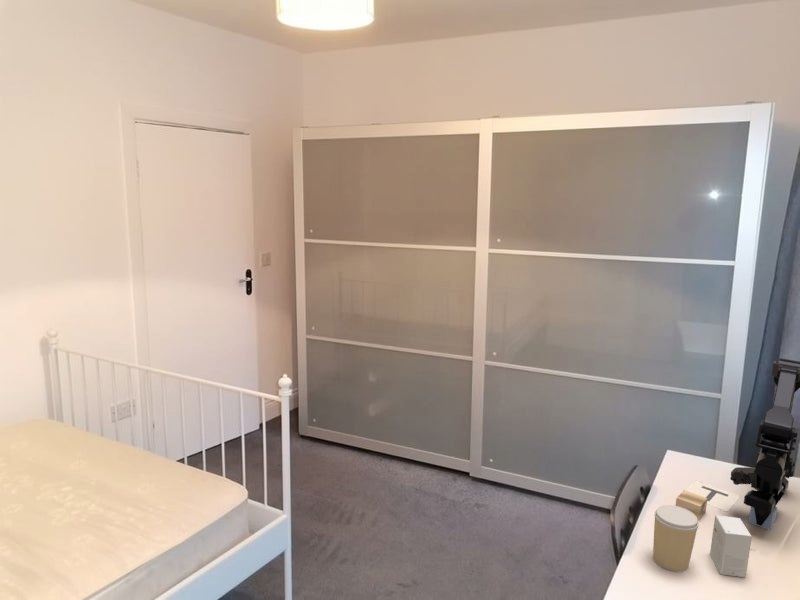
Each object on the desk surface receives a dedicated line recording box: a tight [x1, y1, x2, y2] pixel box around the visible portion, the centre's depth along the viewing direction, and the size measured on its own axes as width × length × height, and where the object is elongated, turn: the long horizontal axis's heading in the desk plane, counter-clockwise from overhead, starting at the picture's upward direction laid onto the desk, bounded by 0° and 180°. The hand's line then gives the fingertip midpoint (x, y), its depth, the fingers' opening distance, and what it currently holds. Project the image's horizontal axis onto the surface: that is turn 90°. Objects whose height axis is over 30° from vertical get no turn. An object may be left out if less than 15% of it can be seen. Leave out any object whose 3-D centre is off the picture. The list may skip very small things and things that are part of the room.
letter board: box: [686, 480, 741, 513], centre depth 173 cm, size 12×12×1 cm
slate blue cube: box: [748, 506, 778, 531], centre depth 159 cm, size 5×5×5 cm
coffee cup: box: [652, 504, 700, 572], centre depth 142 cm, size 9×9×12 cm
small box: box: [709, 514, 753, 578], centre depth 141 cm, size 8×6×10 cm
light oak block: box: [675, 489, 708, 522], centre depth 163 cm, size 6×6×5 cm
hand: (761, 520), depth 160 cm, fingers closed on slate blue cube, 5 cm apart
